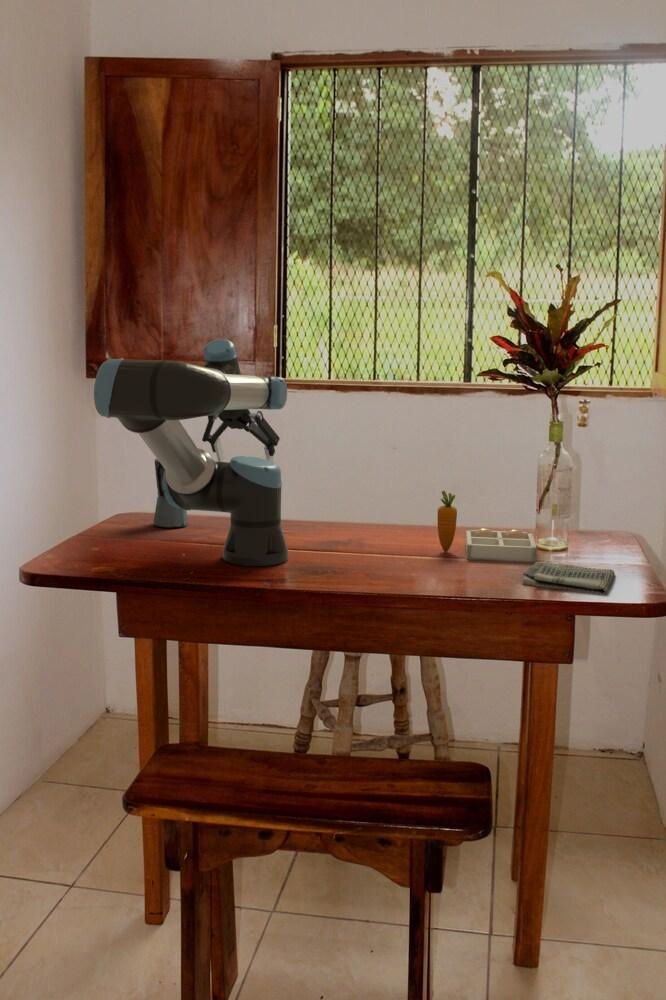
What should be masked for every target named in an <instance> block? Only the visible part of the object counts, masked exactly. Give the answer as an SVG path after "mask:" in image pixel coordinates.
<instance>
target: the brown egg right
mask: <svg viewBox="0 0 666 1000" xmlns="http://www.w3.org/2000/svg"><path fill="white" fill-rule="evenodd" d="M507 532H508V533H507V534H506V537H505V538H510V539H524V534H523V533H522V532H523V531H521V530H520V529H517V528H513V529H510V530H509V531H507Z"/></svg>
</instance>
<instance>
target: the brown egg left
mask: <svg viewBox="0 0 666 1000" xmlns="http://www.w3.org/2000/svg"><path fill="white" fill-rule="evenodd" d="M476 530H477V532H476V533H475V537H486V538H493V533H492V531H493V530H491V529H489V528H487V527H481V528H479V529H476Z"/></svg>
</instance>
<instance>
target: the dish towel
mask: <svg viewBox="0 0 666 1000" xmlns="http://www.w3.org/2000/svg"><path fill="white" fill-rule="evenodd" d="M522 575H523V576H524V577H523V579H522V584H521V585H522V586H529V587H530V586H532V587H538V588H548V589H555V590H563V591H564V590H567V591H573V592H579V593H580V592H581V593H588V594H589V593H590V594H596V595H603V596H604V595H606V594H608V590H609V589H610V587H611V585H612V583H613V581H614V578H615V575H616V573H615V571H614V570H613V569H612V568H611V569H609V568H607V569H606V568H605V569H604V568H595V567H594V568H593V567H584V566H580V565H573V564H563V563H562V564H561V563H555V562H554V563H553V562H550V561H547V560H544V561H543V562H541V561H536V562H534V564H533V565H532V566H531V567H529V568H528V569H527V570H526V571H524V572H523V574H522Z"/></svg>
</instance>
